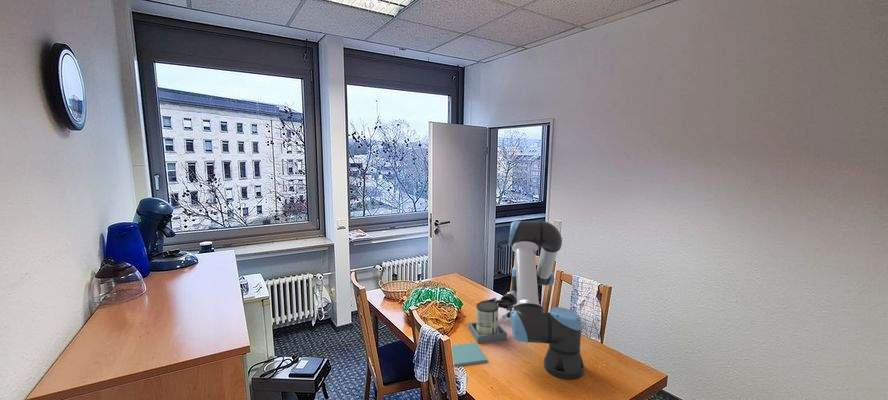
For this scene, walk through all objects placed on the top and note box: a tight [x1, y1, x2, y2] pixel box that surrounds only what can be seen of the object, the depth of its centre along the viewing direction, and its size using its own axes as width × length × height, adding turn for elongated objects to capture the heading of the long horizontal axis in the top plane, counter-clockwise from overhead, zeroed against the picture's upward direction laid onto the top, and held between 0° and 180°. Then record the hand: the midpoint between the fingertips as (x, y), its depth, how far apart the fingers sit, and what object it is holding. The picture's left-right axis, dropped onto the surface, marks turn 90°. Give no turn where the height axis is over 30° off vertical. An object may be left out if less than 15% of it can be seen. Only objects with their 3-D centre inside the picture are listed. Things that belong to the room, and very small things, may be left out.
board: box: [452, 342, 488, 367], centre depth 150 cm, size 14×14×1 cm
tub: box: [467, 321, 508, 344], centre depth 168 cm, size 14×14×3 cm
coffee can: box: [475, 300, 499, 335], centre depth 167 cm, size 10×10×14 cm
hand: (490, 314), depth 170 cm, fingers open, 13 cm apart
